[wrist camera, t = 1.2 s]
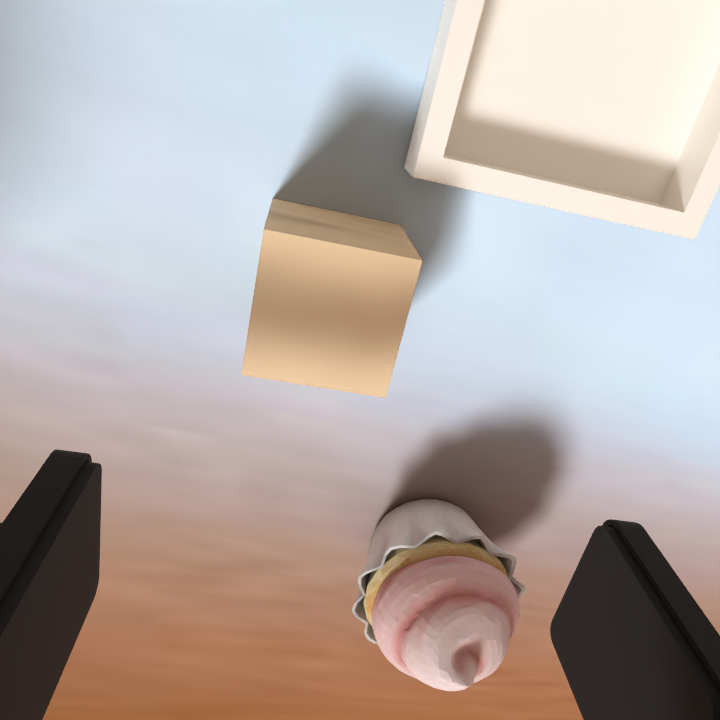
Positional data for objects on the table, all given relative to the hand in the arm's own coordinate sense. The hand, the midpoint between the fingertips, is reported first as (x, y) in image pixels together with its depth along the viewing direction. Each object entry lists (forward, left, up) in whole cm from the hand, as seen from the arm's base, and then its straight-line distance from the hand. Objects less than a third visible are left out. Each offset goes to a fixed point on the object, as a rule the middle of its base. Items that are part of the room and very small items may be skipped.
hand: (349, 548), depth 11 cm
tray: (+11, -9, -19) cm, 24 cm away
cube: (-1, 0, -19) cm, 19 cm away
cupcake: (-16, -9, -19) cm, 27 cm away
